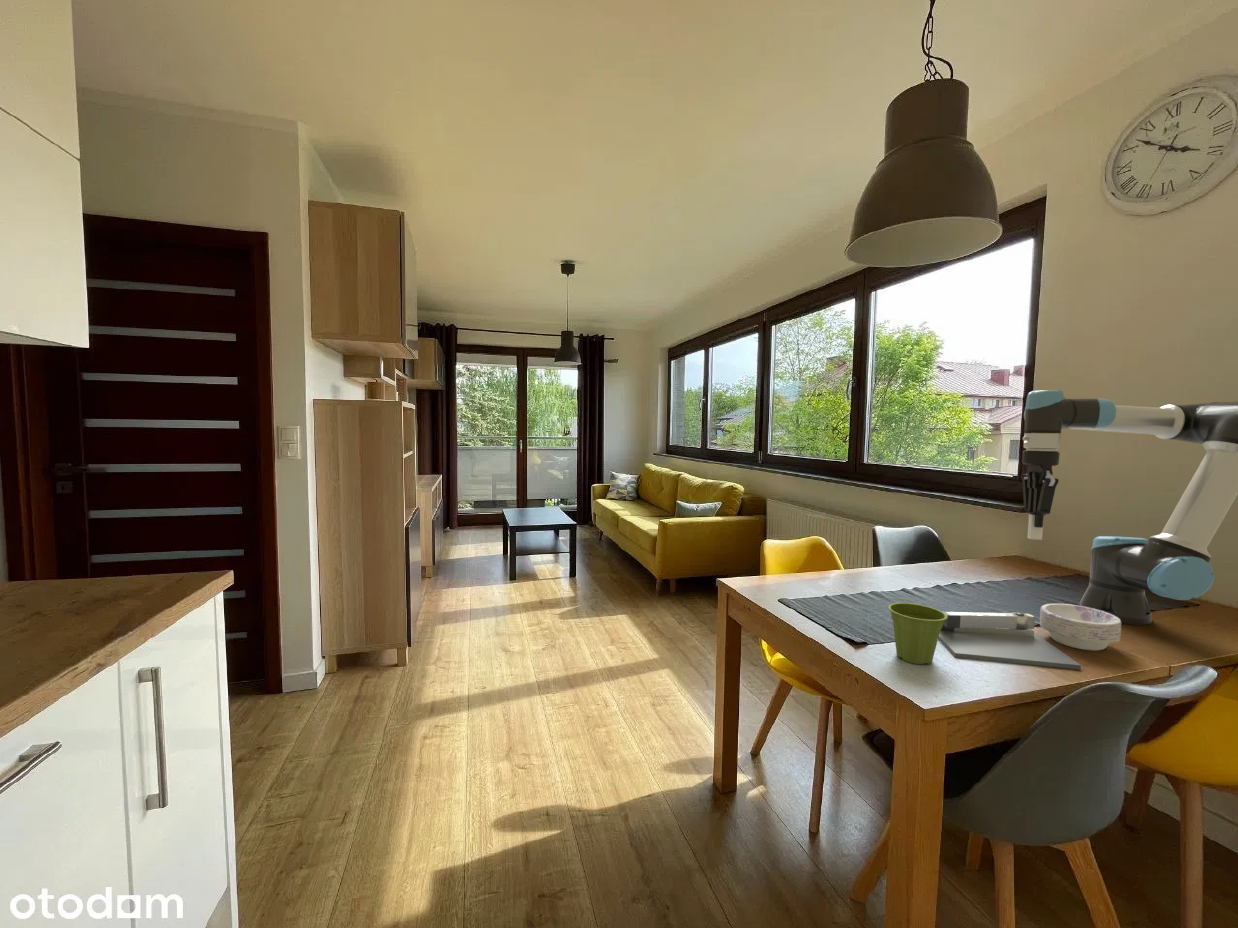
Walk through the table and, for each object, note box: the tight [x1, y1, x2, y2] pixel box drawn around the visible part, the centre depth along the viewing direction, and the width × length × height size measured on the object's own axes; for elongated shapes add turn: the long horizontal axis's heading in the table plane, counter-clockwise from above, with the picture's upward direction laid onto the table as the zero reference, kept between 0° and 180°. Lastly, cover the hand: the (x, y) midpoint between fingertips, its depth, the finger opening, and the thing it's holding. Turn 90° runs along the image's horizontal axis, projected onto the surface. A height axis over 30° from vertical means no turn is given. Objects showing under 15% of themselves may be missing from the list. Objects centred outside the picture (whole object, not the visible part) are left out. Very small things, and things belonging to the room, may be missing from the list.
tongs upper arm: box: [941, 610, 1036, 630], centre depth 134 cm, size 22×4×4 cm, turn 89°
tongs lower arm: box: [940, 626, 1035, 637], centre depth 135 cm, size 22×3×2 cm, turn 81°
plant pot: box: [888, 602, 947, 665], centre depth 121 cm, size 12×12×11 cm
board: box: [938, 631, 1082, 670], centre depth 130 cm, size 25×21×1 cm
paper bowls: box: [1039, 603, 1122, 652], centre depth 131 cm, size 15×15×8 cm
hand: (1034, 538), depth 139 cm, fingers closed
